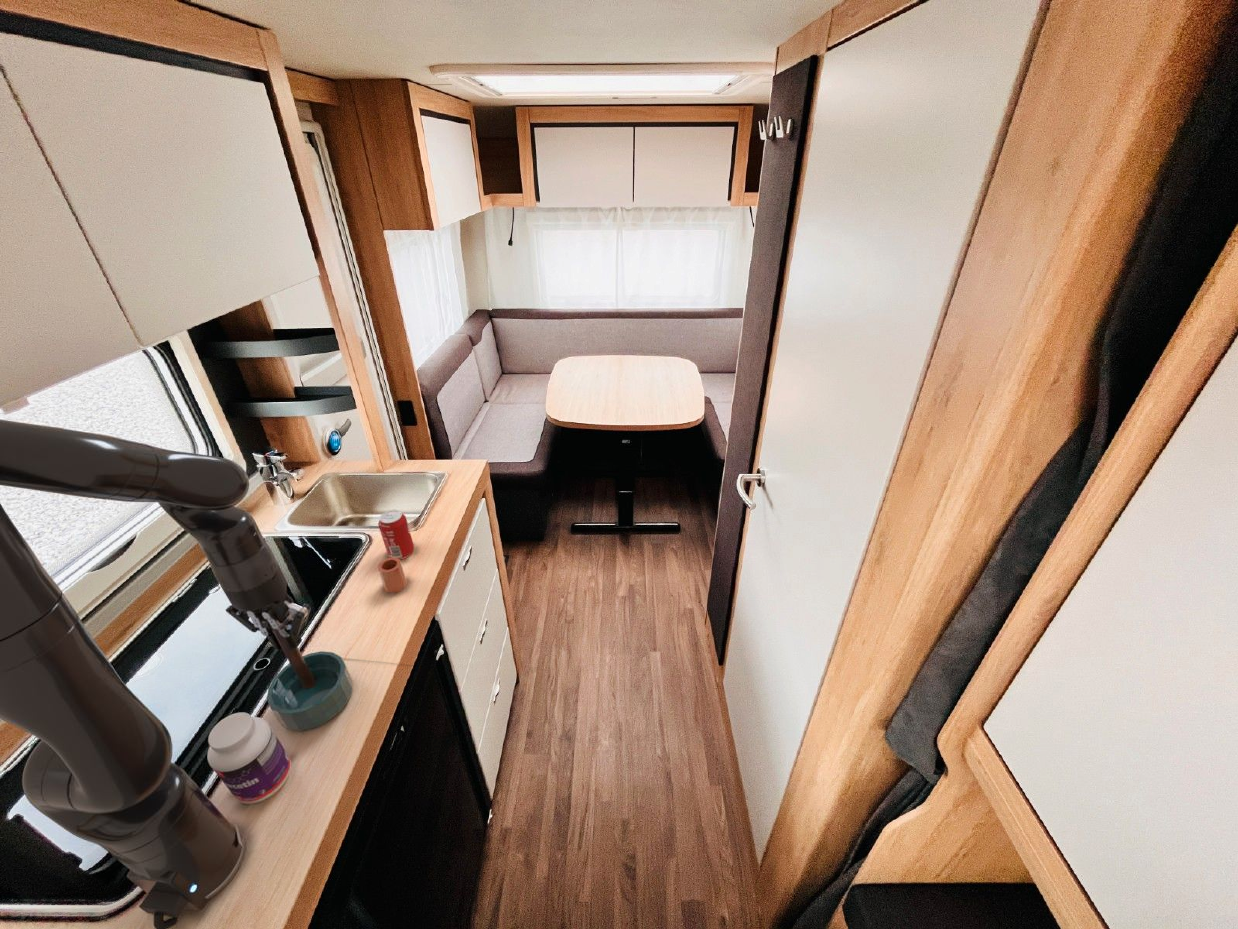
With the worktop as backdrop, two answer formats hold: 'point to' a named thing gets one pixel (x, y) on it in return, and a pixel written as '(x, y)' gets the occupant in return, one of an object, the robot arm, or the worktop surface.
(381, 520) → the beverage can
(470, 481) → the worktop surface
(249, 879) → the worktop surface
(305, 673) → the cooking stick
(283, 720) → the bowl
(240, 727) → the pill bottle
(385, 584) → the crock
